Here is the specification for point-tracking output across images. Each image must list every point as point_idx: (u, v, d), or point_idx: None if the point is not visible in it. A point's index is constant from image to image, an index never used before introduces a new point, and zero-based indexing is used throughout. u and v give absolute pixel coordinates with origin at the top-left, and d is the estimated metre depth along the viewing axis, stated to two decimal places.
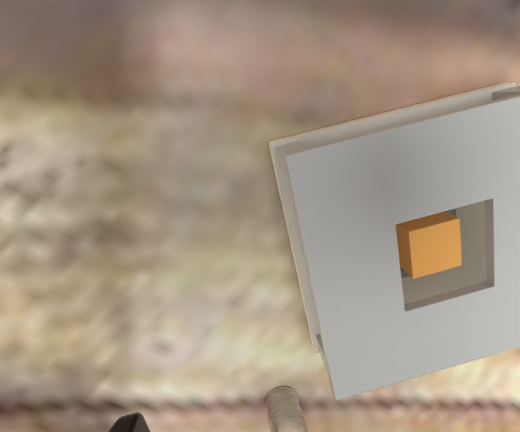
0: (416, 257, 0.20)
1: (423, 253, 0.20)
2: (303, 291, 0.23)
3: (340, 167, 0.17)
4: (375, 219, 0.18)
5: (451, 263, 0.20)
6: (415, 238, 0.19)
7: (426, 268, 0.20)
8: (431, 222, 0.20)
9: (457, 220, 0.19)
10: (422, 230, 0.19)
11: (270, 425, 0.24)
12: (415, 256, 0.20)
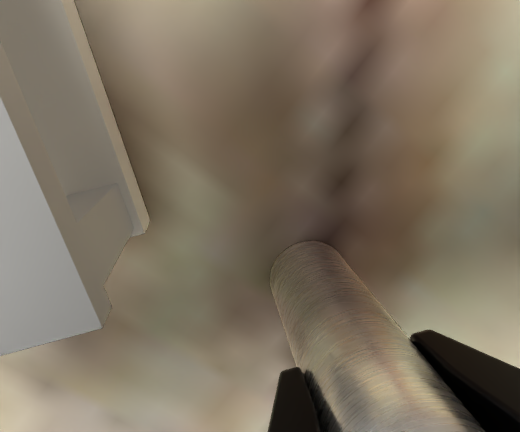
0: None
1: None
2: None
3: None
4: None
5: None
6: None
7: None
8: None
9: None
10: None
11: None
12: None
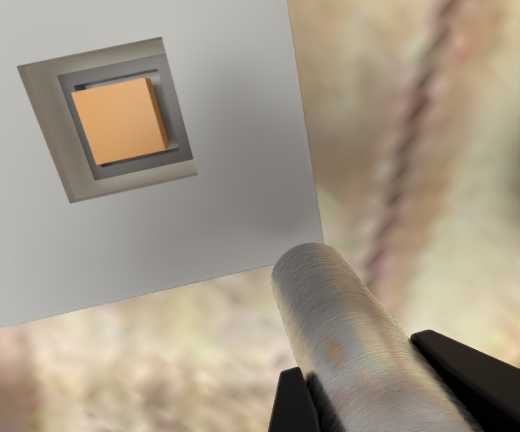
0: (132, 148, 0.15)
1: (126, 140, 0.15)
2: None
3: (5, 274, 0.15)
4: (65, 229, 0.15)
5: (141, 95, 0.14)
6: (105, 154, 0.15)
7: (149, 132, 0.15)
8: (86, 127, 0.15)
9: (74, 95, 0.14)
10: (93, 145, 0.15)
11: None
12: (131, 150, 0.15)
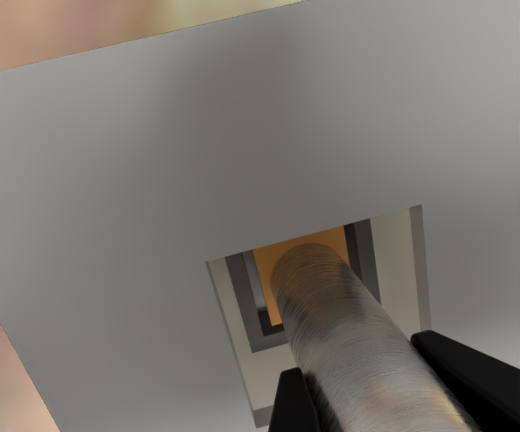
0: None
1: None
2: None
3: None
4: None
5: (336, 243, 0.11)
6: None
7: None
8: (260, 281, 0.12)
9: (256, 250, 0.11)
10: (271, 304, 0.12)
11: None
12: None
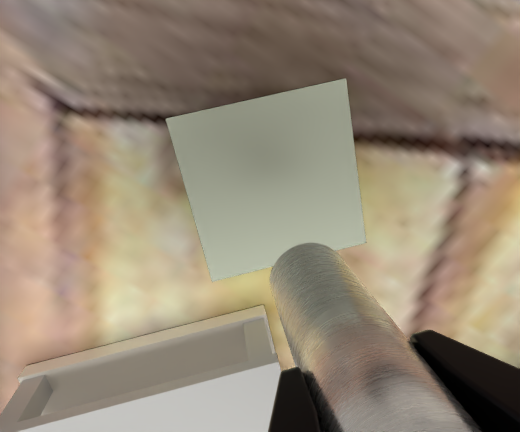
0: None
1: None
2: None
3: None
4: None
5: None
6: None
7: None
8: None
9: None
10: None
11: None
12: None
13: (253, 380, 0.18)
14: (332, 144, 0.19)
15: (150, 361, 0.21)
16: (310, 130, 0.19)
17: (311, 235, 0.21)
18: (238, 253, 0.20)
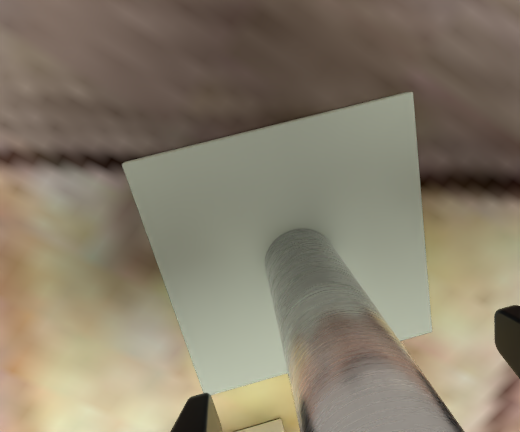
0: None
1: None
2: None
3: None
4: None
5: None
6: None
7: None
8: None
9: None
10: None
11: None
12: None
13: None
14: (387, 194, 0.12)
15: None
16: (354, 174, 0.12)
17: None
18: (244, 356, 0.14)
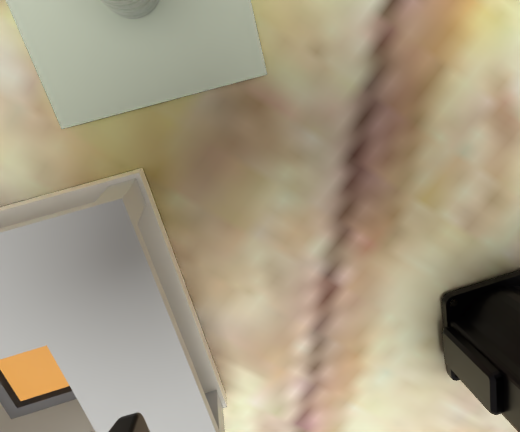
0: (51, 385, 0.17)
1: (45, 380, 0.17)
2: None
3: None
4: None
5: None
6: (27, 392, 0.17)
7: None
8: (9, 372, 0.17)
9: None
10: (16, 387, 0.17)
11: (113, 5, 0.13)
12: (50, 387, 0.17)
13: (89, 227, 0.13)
14: None
15: None
16: None
17: (190, 61, 0.16)
18: (92, 87, 0.15)
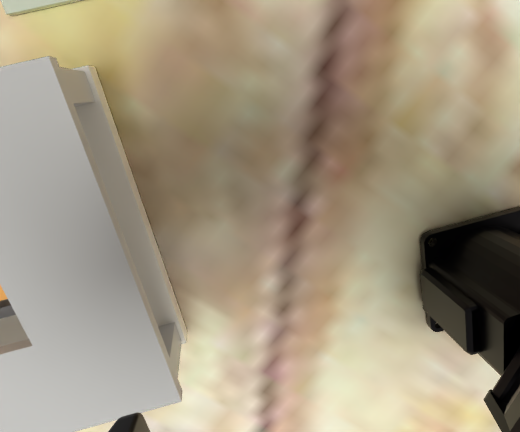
0: None
1: None
2: None
3: None
4: None
5: None
6: None
7: None
8: None
9: None
10: None
11: None
12: None
13: (13, 89, 0.12)
14: None
15: None
16: None
17: None
18: None
